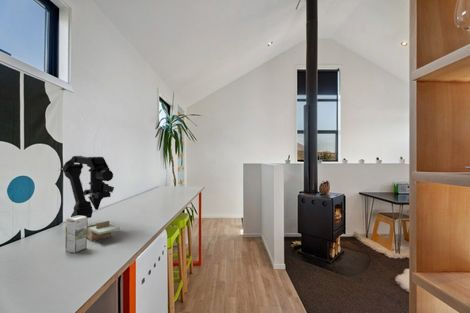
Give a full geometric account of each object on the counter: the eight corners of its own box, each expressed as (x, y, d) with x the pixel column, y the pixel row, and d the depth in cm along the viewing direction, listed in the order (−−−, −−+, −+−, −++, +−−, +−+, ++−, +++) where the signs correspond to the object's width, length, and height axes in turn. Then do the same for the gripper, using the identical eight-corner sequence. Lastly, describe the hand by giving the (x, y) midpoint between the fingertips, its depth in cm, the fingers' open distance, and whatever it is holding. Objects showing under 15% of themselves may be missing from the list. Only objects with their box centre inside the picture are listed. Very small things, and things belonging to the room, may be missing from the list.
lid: (88, 229, 118) (88, 222, 118) (107, 225, 125) (107, 218, 125) (99, 234, 110) (99, 227, 110) (119, 229, 118) (119, 222, 118)
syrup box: (77, 246, 108) (77, 215, 108) (87, 248, 107) (87, 216, 107) (65, 251, 103) (65, 218, 103) (75, 253, 101) (74, 219, 101)
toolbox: (82, 236, 122) (82, 227, 122) (100, 232, 130) (100, 223, 130) (92, 241, 115) (92, 231, 115) (111, 236, 122) (111, 227, 122)
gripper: (120, 180, 127) (120, 209, 127) (104, 178, 138) (104, 205, 138) (98, 181, 118) (98, 213, 118) (82, 179, 129) (83, 208, 129)
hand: (96, 209), depth 126 cm, fingers closed
